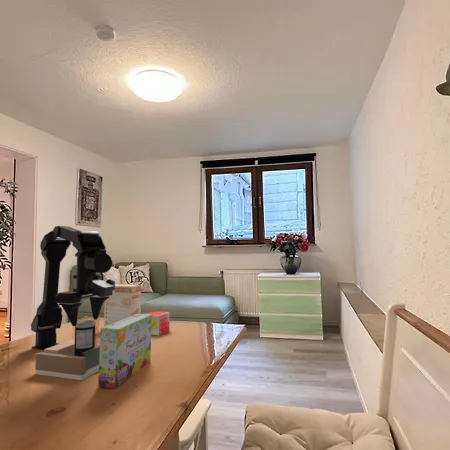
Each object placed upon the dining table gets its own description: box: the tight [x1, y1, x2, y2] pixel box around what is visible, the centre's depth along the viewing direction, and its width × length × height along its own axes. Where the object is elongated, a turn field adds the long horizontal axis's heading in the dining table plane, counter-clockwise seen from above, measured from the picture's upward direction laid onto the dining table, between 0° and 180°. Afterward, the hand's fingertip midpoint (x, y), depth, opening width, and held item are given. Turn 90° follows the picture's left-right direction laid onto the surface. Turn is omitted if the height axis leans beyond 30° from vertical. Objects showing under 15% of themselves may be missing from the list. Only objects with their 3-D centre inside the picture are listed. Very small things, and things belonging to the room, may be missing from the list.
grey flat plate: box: [82, 344, 100, 370], centre depth 100 cm, size 1×12×5 cm, turn 162°
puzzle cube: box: [146, 310, 171, 336], centre depth 143 cm, size 8×8×8 cm
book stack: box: [43, 338, 75, 356], centre depth 103 cm, size 4×13×5 cm, turn 162°
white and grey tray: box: [35, 351, 99, 381], centre depth 102 cm, size 16×18×6 cm
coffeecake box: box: [103, 283, 142, 327], centre depth 149 cm, size 15×7×20 cm, turn 66°
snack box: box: [97, 313, 152, 390], centre depth 96 cm, size 21×6×15 cm, turn 168°
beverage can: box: [74, 319, 96, 357], centre depth 102 cm, size 6×6×12 cm
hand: (85, 322), depth 103 cm, fingers open, 9 cm apart
